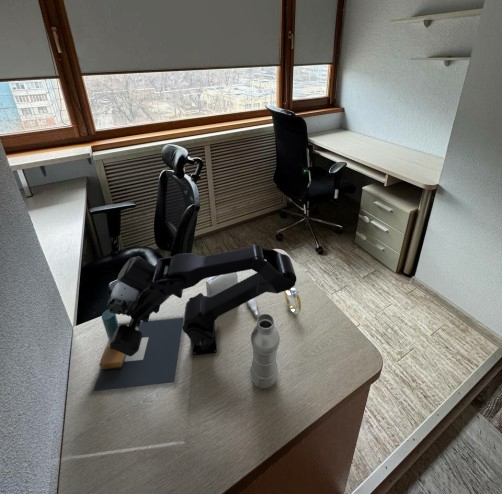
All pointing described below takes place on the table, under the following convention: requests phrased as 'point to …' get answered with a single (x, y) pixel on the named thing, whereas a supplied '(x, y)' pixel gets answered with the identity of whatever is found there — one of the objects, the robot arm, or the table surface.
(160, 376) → the desk mat
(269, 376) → the plastic bottle
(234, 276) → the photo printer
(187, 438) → the table surface
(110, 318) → the peg on wooden base
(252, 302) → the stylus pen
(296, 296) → the gold diamond ring
